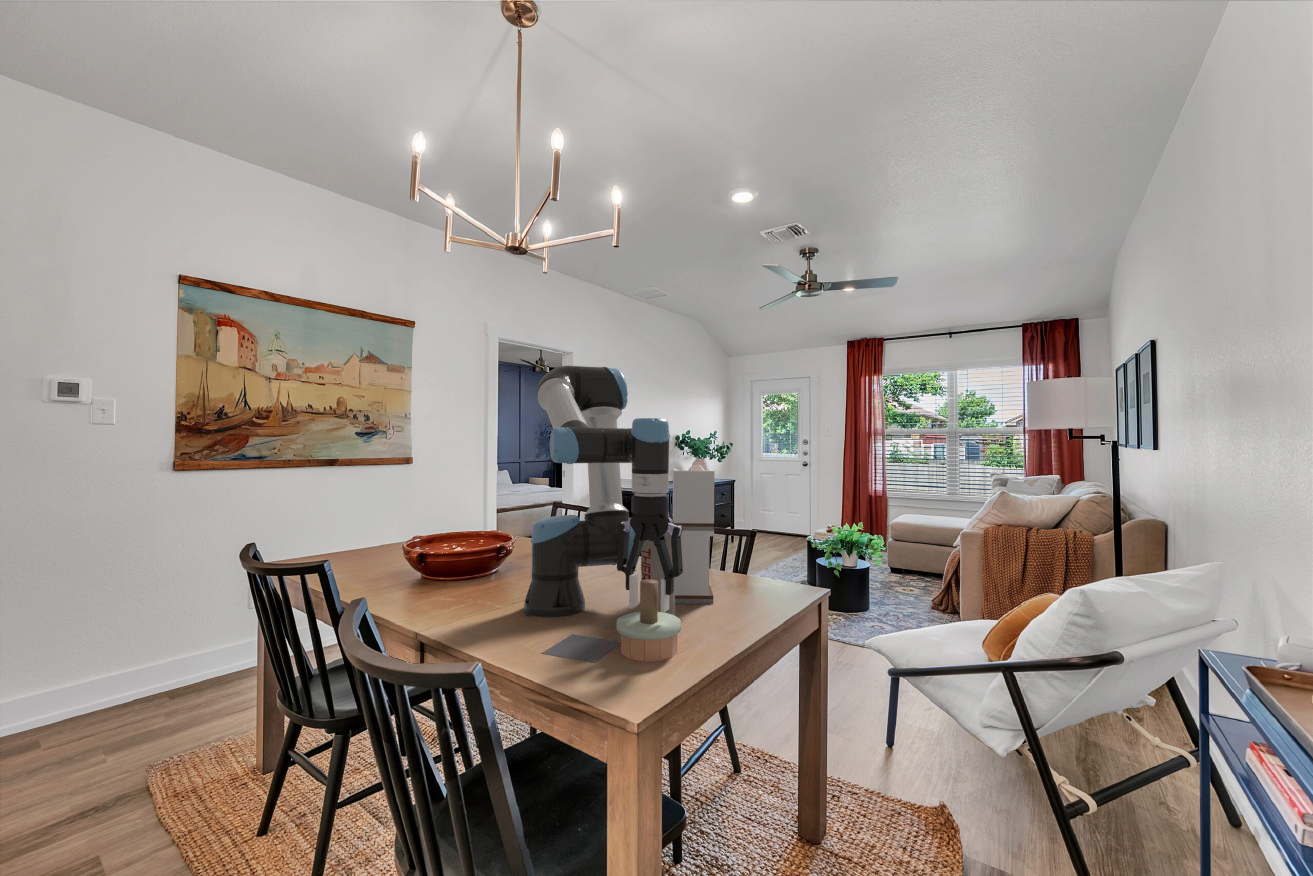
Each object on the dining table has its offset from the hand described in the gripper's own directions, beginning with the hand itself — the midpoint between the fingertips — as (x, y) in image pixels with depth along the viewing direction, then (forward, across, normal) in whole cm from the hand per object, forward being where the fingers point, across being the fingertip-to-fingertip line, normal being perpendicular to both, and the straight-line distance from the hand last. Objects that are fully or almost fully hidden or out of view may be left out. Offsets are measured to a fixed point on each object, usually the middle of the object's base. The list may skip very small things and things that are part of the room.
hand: (649, 608), depth 115 cm
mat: (+9, -13, -4) cm, 16 cm away
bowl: (+9, 0, 0) cm, 9 cm away
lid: (+4, 0, 0) cm, 4 cm away
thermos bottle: (+9, -5, +17) cm, 20 cm away
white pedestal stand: (+9, -5, +42) cm, 43 cm away
